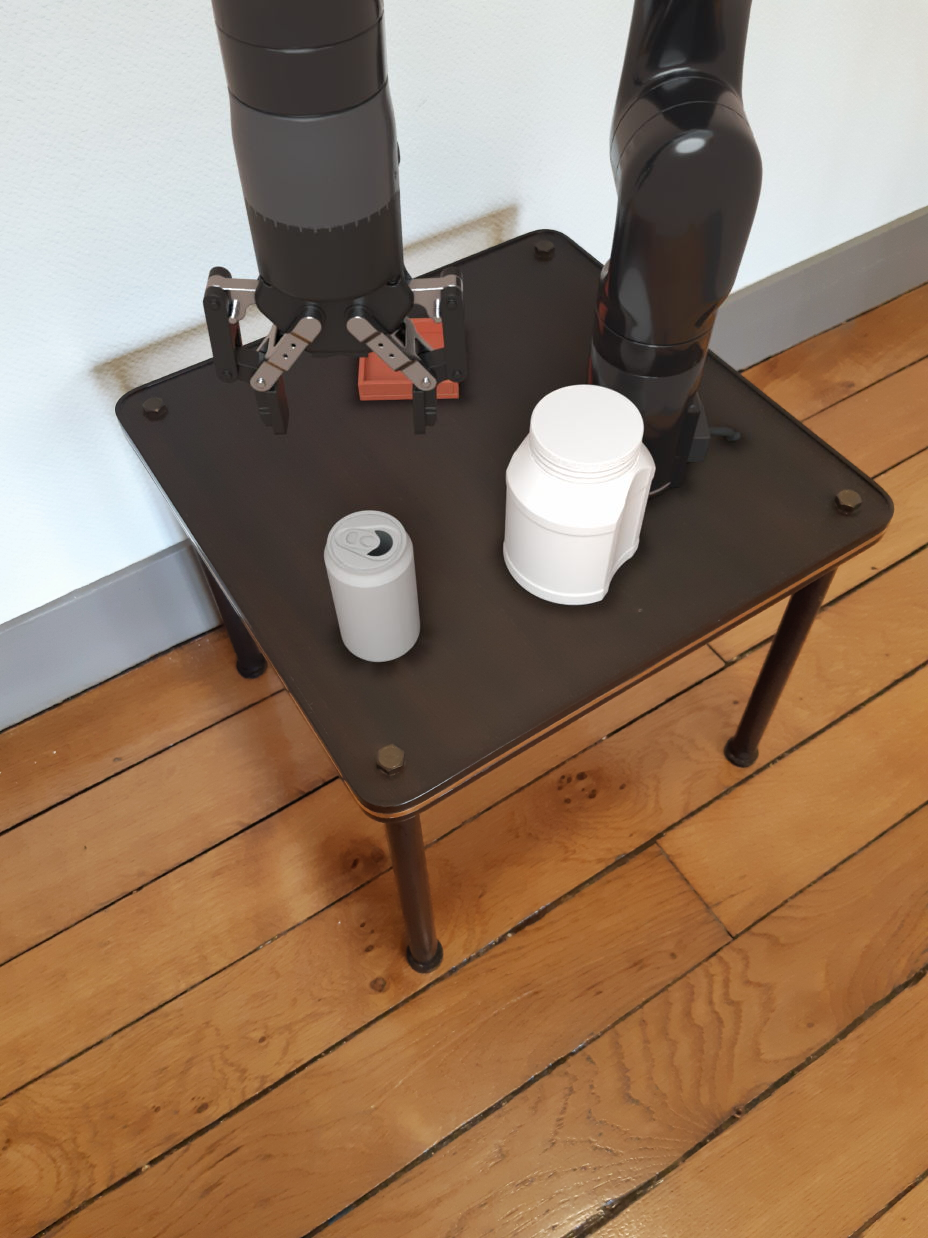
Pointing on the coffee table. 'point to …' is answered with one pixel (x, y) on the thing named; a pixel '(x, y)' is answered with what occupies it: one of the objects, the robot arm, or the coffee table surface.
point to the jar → (576, 494)
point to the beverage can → (373, 585)
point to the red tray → (392, 385)
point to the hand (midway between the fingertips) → (351, 425)
